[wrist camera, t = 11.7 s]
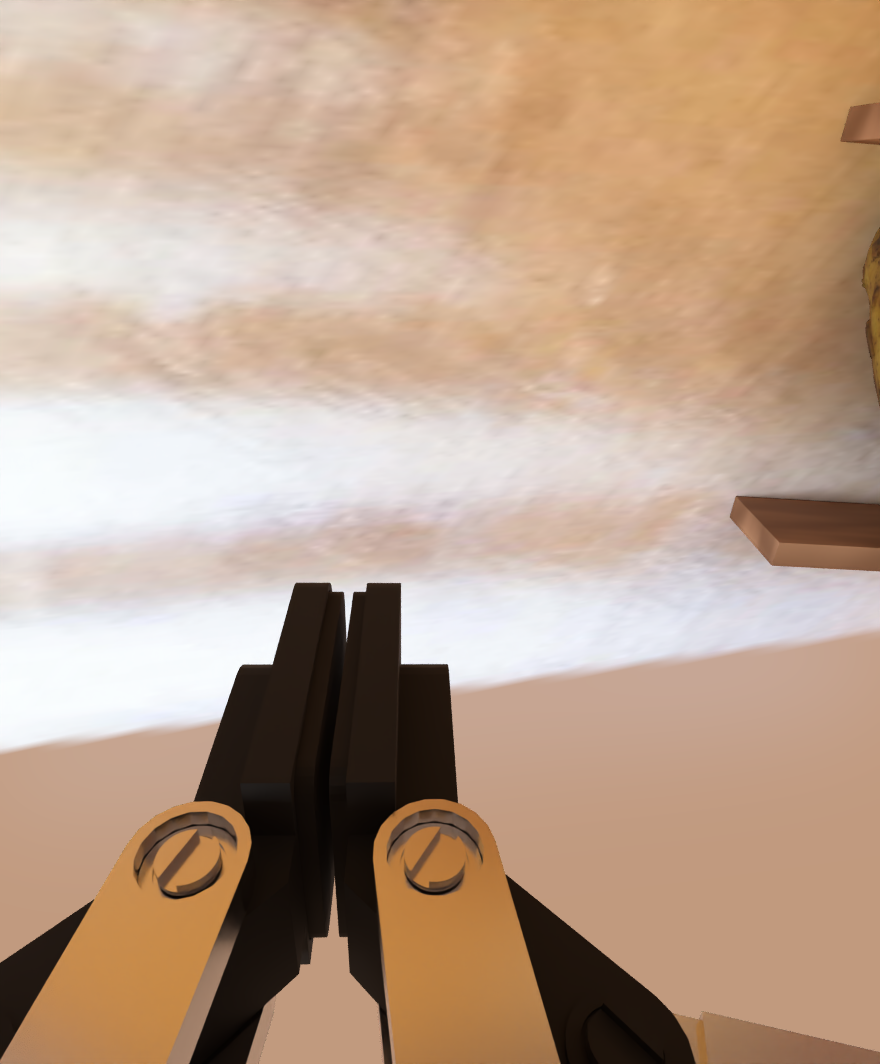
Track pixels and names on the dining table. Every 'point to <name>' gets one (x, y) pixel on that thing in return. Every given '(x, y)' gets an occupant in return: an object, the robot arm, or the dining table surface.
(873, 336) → the potato
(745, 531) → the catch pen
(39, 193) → the dining table surface
